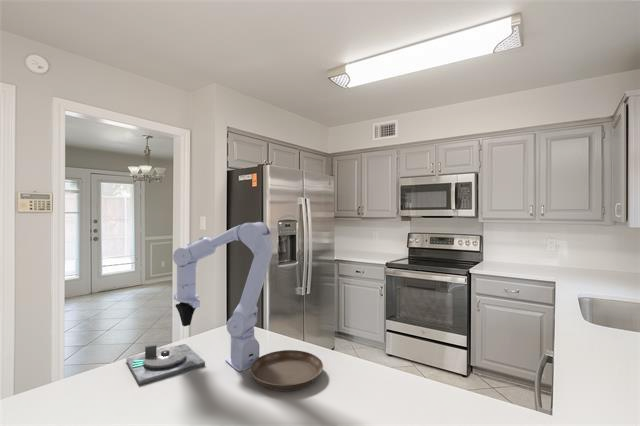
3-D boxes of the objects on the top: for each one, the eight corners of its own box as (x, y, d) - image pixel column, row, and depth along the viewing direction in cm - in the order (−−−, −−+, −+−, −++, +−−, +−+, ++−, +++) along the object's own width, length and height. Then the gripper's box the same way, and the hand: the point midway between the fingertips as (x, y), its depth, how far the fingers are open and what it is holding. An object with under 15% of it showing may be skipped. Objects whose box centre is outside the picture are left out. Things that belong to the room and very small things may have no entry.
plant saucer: (314, 400, 84) (314, 387, 84) (238, 391, 88) (238, 378, 88) (328, 363, 104) (328, 353, 104) (265, 357, 108) (265, 347, 108)
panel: (204, 365, 102) (205, 360, 102) (139, 385, 90) (139, 379, 90) (185, 347, 116) (185, 342, 116) (126, 362, 104) (126, 357, 104)
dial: (183, 348, 111) (183, 333, 111) (188, 362, 101) (188, 346, 101) (143, 355, 105) (143, 340, 105) (143, 372, 95) (143, 354, 95)
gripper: (208, 285, 107) (208, 327, 107) (188, 278, 117) (188, 317, 117) (187, 288, 102) (187, 333, 102) (167, 281, 112) (167, 322, 112)
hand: (186, 325), depth 109 cm, fingers closed
